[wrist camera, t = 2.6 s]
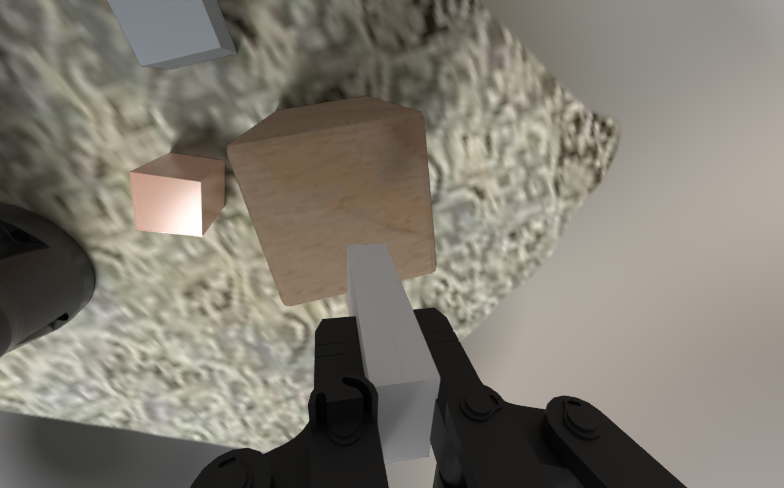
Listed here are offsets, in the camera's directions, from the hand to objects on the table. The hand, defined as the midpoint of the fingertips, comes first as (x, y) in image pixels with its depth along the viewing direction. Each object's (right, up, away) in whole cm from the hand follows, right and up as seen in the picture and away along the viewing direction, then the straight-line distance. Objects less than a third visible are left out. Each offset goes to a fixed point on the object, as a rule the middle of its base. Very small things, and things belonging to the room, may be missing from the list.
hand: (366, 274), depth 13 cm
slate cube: (-17, +21, +15) cm, 31 cm away
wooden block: (-6, +11, +23) cm, 26 cm away
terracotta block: (-19, +8, +21) cm, 30 cm away
